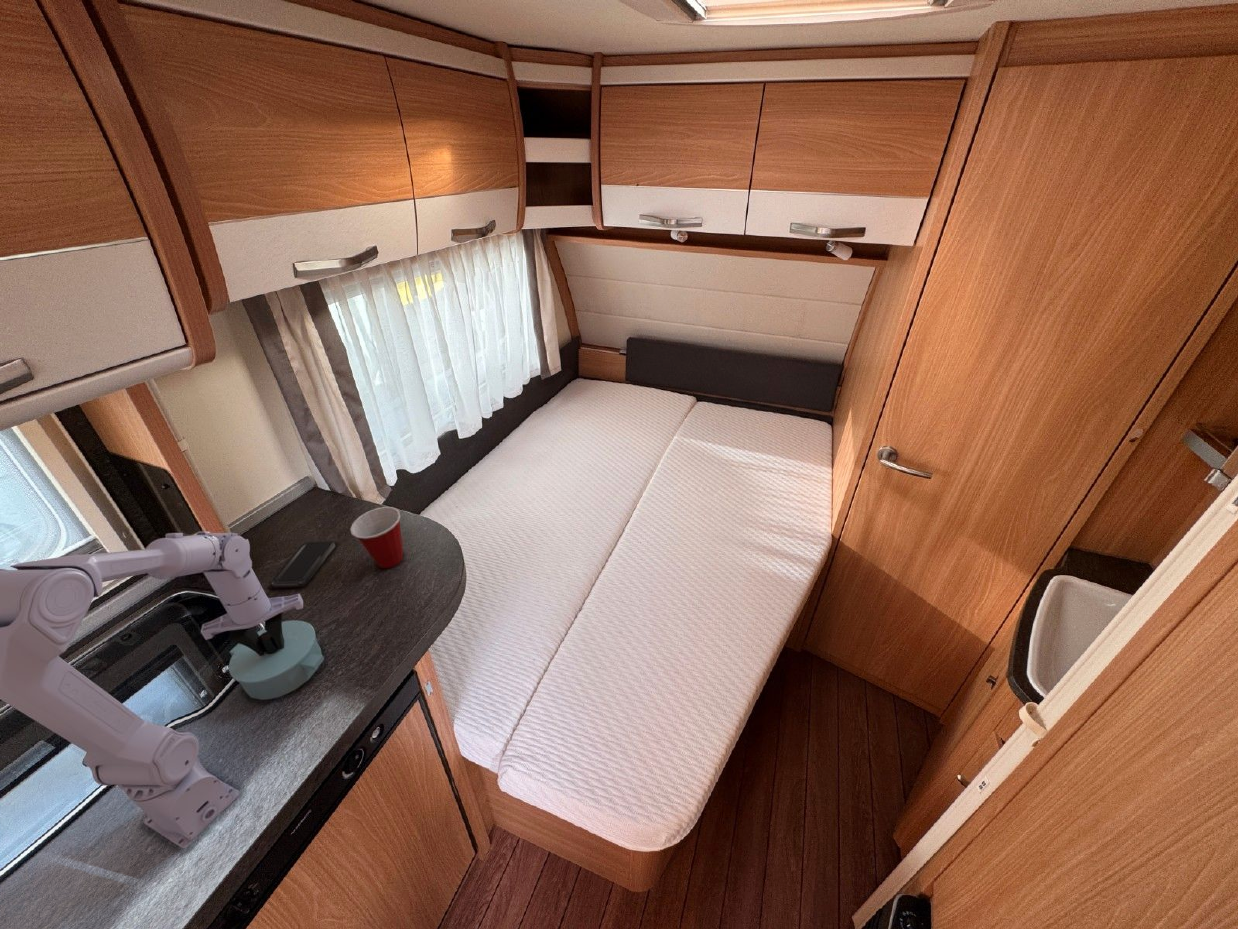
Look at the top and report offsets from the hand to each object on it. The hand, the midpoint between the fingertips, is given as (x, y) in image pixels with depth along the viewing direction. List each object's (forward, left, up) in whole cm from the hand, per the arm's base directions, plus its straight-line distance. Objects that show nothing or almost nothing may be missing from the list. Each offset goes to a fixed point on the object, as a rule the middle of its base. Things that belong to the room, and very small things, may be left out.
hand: (272, 648), depth 92 cm
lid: (0, 0, -1) cm, 1 cm away
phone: (+22, -23, -6) cm, 32 cm away
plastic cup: (+4, -31, -6) cm, 32 cm away
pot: (0, 0, -6) cm, 6 cm away
